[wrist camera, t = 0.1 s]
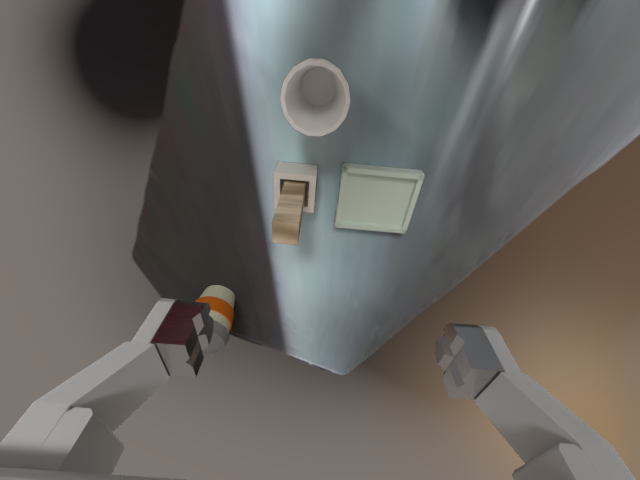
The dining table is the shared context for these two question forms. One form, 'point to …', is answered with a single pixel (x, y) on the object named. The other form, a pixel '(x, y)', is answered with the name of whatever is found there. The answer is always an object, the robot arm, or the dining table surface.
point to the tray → (377, 197)
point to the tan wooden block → (289, 212)
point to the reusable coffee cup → (219, 316)
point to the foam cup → (315, 97)
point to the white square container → (296, 173)
